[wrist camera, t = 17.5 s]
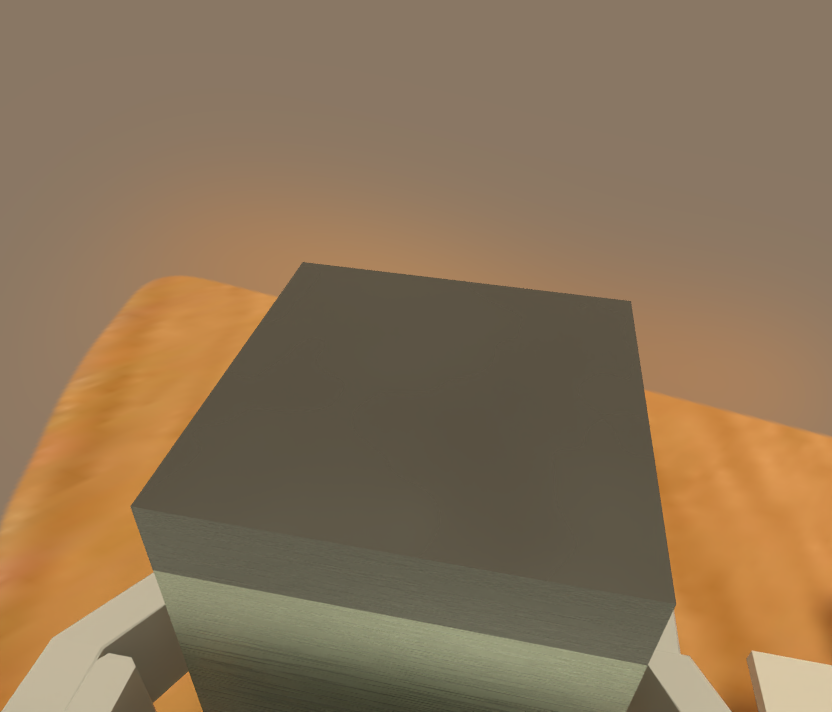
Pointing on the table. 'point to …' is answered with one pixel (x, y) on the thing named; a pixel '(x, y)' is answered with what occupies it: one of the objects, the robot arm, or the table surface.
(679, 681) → the robot arm
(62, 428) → the table surface
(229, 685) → the tea tin
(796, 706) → the carton
